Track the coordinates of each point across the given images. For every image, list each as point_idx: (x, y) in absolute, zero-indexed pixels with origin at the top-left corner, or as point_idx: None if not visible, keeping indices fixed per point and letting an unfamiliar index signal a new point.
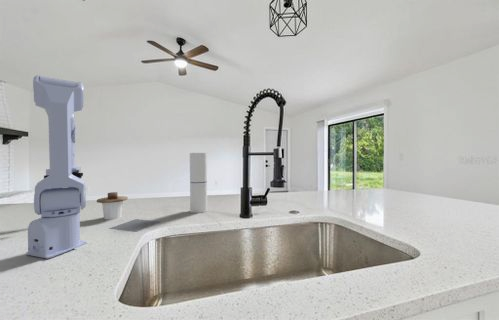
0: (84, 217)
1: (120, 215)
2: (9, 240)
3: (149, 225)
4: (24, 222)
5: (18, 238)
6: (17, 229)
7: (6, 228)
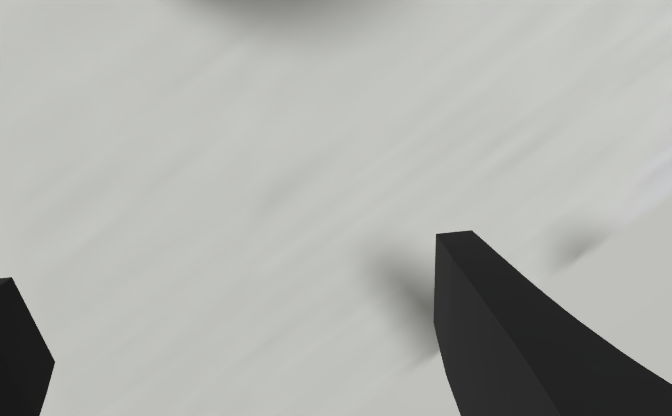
0: (7, 69)
1: None
2: (651, 187)
3: None
4: (223, 412)
5: (624, 164)
6: (390, 330)
7: (357, 400)
